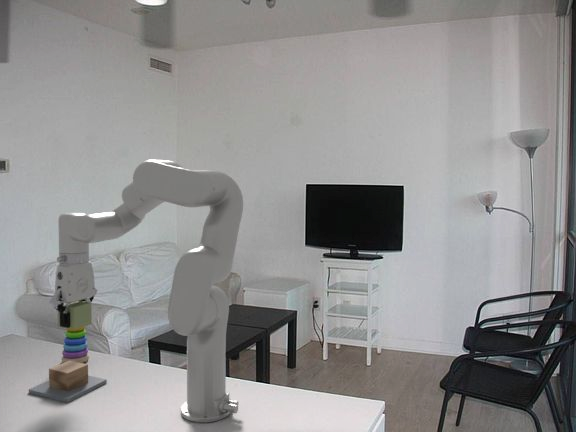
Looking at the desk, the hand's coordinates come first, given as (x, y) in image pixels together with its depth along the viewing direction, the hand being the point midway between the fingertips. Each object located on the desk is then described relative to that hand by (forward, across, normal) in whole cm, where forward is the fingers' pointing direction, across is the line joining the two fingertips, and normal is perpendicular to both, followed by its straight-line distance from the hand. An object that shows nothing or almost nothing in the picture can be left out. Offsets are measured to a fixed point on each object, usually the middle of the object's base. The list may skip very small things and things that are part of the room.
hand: (74, 322), depth 142 cm
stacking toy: (+19, +15, +16) cm, 28 cm away
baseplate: (+18, -1, +1) cm, 18 cm away
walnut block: (+17, -1, +1) cm, 17 cm away
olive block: (+1, 0, 0) cm, 1 cm away
